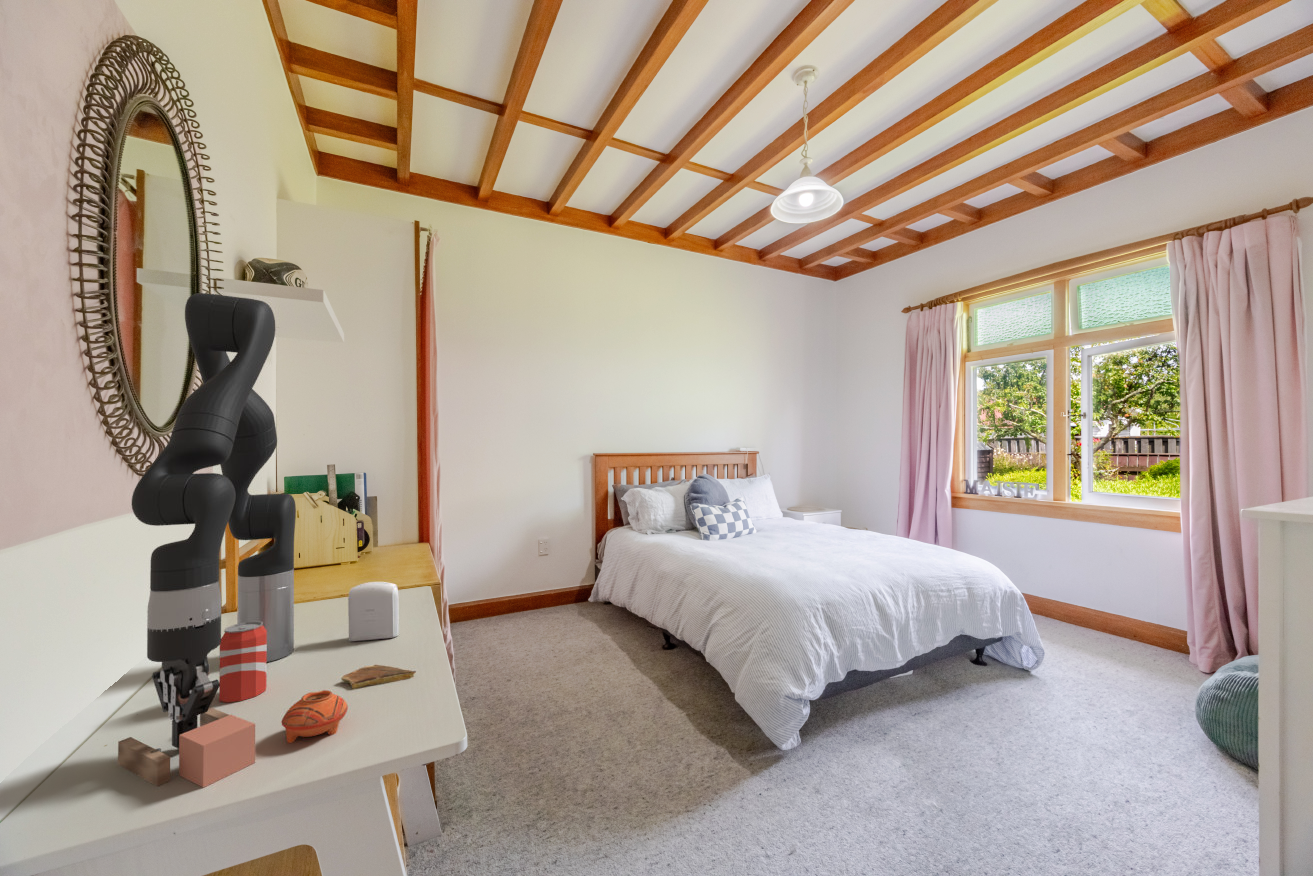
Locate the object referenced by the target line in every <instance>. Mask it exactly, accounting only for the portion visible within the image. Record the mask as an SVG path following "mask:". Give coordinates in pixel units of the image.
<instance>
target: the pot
mask: <svg viewBox="0 0 1313 876" xmlns="http://www.w3.org/2000/svg"><path fill="white" fill-rule="evenodd" d="M348 709H349V707H348V703H347V701H346V700H345V699H344V698H343V697H341V696H339V695H337V694H334V693H333V691H331V690H326V689H324V690H320V691H312V692H307V693H306V694H304V695H303V696H302V697H301V698H300V699H299V700H297V701H296V702H295V703H293V704H292V705H291V706H290V707H289V709H287V711H286V712H285V714H284V716H283V717H282V719H281V726H282V727H283V728H284V729H285V735H286V736H285V737H286V742H287V743H288V744H293V743H294V742H295V741H296V739H297V738H298V737H302V738H303V737H304V738H306V737H315V736H318V735H322V734H324V733H328V735H329V736H332V735H336V733H337V731H338V728H339V724H340V721H342V720H343V718H344V717H345V715H346V714H347V713H348Z"/></svg>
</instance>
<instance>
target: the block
mask: <svg viewBox="0 0 1313 876" xmlns="http://www.w3.org/2000/svg"><path fill="white" fill-rule="evenodd" d="M178 750H179V752H178V775H179V776H180V777H182V778H184V779H186V780H188V781H189V782H192V783H194V784H195V785H198V786H199V787H201V788H206V787H208V786H210V785H212V784H213V783H214V784H215V783H216V782H218V781H221V780H222V779H224V778H227V777H228V776H230V775H232V774H235V773H237V772H238V771H241V770H243V769H245V768H247V767H249V766H251V765H253V764H255V763H256V723H254V722H251V721H249V720H246V719H243V718H241V717H239V716H236V715H233V714H229V715H228V716H226V717H223V718H221V719H218V720H216V721H213V722H211V723H208V724H206V725H203V726H201V727H200V726H197V728H196V729H193V730H190V731H188V732H185V733H183V734H180V735H179V749H178Z"/></svg>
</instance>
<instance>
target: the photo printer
mask: <svg viewBox="0 0 1313 876" xmlns="http://www.w3.org/2000/svg"><path fill="white" fill-rule="evenodd" d="M348 592H349V593H348V597H347V599H348V600H347V602H348V603H347V605H348V606H347V607H348V608H347V609H348V610H347V611H348V613H347V614H348V640H349V641H348V642H356V641H357V642H359V641H370V640H371V641H372V640H381V639H382V640H383V639H392V638H396V637H397V636H399V634H400V619H399V617H400V616H399V615H400V613H399V611H400V610H399V588H398V585H397V584H395V583H393V582H387V581H369V582H364V583H361V584H358V585H355V586H353V587H352V588H350V589H349V591H348Z"/></svg>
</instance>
